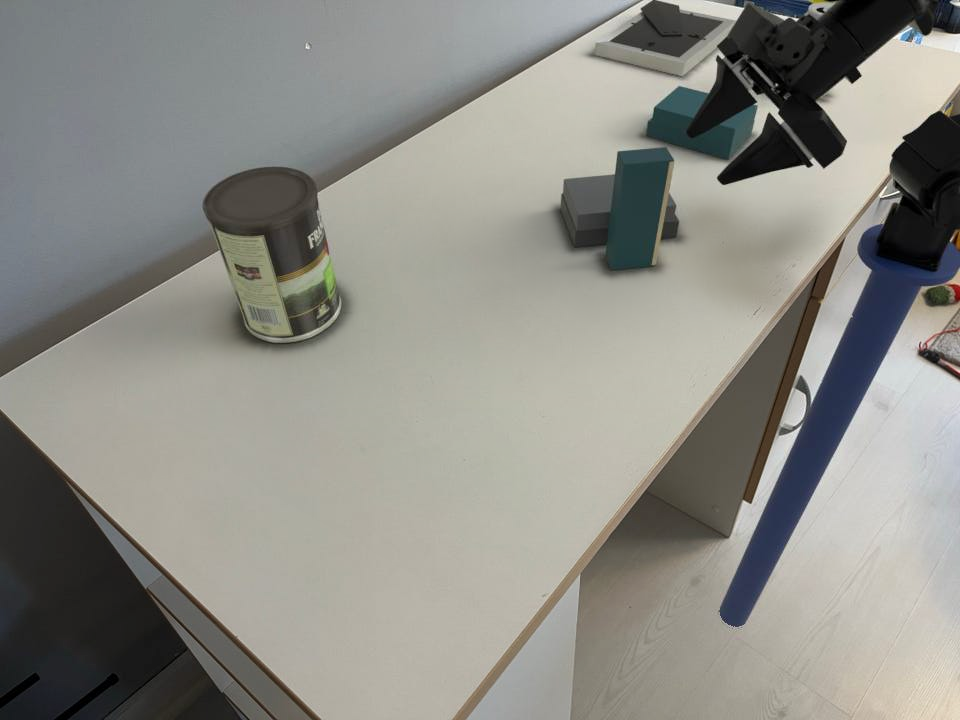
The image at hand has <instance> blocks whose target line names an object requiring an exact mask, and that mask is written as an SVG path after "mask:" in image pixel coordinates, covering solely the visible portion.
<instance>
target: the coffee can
mask: <svg viewBox="0 0 960 720" xmlns="http://www.w3.org/2000/svg"><path fill="white" fill-rule="evenodd" d="M202 211H203V213H204V216H205V218H206V219H207V221H208V223H209V225H210V228H211V231H212V233H213V236H214V239H215V241H216V245H217V248H218V250H219V253H220V256H221V258H222V261H223V264H224V268H225V270H226V272H227V276H228V278H229V281H230V284H231V286H232V289H233V292H234V295H235V298H236V300H237V303H238V306H239V309H240V312H241V315H242V318H243V323H244V325H245V328H246V329H247V331H248V332H249V333H250V334H251V335H252V336H254V337H256V338H257V339H260V340H263V341H265V342H269V343H275V344H276V343H277V344H287V343H296V342H299V341H304V340H308V339H310V338H312V337H315V336H317V335H319V334H321V333H322V332H324V331H325V330H326V329H328V328H329V327H331V326H332V324H333V323H334V322H335V321H336V320H337V318H338V317H339V315H340V312H341V311H342V310H341V309H342V299H341V296H340V293H339V289H338V284H337V279H336V275H335V271H334V266H333V262H332V258H331V253H330V248H329V244H328V243H329V242H328V240H327V235H326V231H325V230H326V229H325V225H324V220H323V217H322V212H321V208H320V204H319V198H318V187H317V184H316V182H315V180H314V178H313V177H311V175H309V174H307V173H306V172H304V171H302V170H300V169H296V168H292V167H287V166H263V167H262V166H261V167H255V168H251V169H246V170H243V171H239V172H236V173H234V174H231V175H229V176H227V177H226V178H224V179H222V180H220V181H218V182H217V183H216V184H215V185H213V186H212V187H211V188H210V189H209V190H208V191H207V192H206V194H205V196H204V198H203V201H202Z"/></svg>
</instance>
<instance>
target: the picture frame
mask: <svg viewBox="0 0 960 720" xmlns="http://www.w3.org/2000/svg"><path fill="white" fill-rule="evenodd" d="M736 21H737V19H736V20H735V19H730V18H725V17H720V16H716V15H711V14H706V13H701V12H695V11H692V10H691V11H690V10H686V9H681V8H680V5H678V4H674V3H669V2H666V1H661V0H651V1H649V2H648V3H646V4H645V5H643V6H641V7H640V12H639V13H637V14H636V15H634V16H633V17H631V18H629V20H626V21H625V22H624V23H622V24H621V25H620V26H618V27H616V28H615V29H613V30H612V31H611V32H609V33H608V34H606V35H604V36H603V37H602V38H600V39H599V40H597V41H595V48H594V56H596V57H601V58H606V59H610V60H614V61H617V62H622V63H626V64H629V65H634V66H638V67H643V68H646V69H650V70H653V71H654V70H655V71H658V72H661V73H662V72H663V73H666V74H670V75H675V76H679V77H684V76H685V75H686V74H687V73H689V72H690V71H691V70H692V69H694V67H696V66H697V65H698V64H699V63H701V62H702V61H703V60H704V59H705V58H706V57H708V56H709V55H710V54H711V53H712V52H713V51H715V50H716V49H718V48H717V45H718V44H719V43H720V42H721V41H722V40H724V39H725V38H726V37H727V35H728V33H729V32H730V30H731V29H732V27H733V26H734V24H735V22H736Z"/></svg>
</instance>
